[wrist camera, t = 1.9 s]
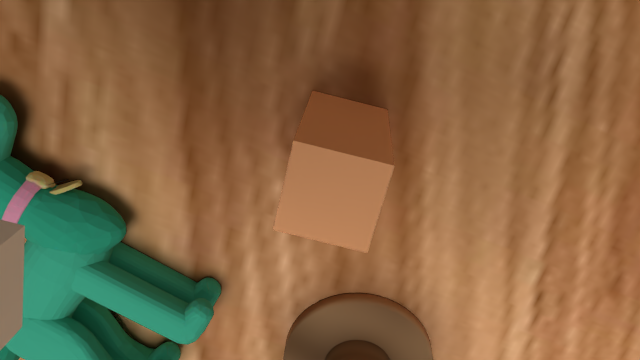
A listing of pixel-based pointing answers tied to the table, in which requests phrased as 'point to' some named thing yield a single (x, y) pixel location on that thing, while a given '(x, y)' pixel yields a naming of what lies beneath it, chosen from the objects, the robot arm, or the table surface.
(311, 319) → the bobbin
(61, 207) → the toy
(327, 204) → the orange brown block
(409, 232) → the table surface
